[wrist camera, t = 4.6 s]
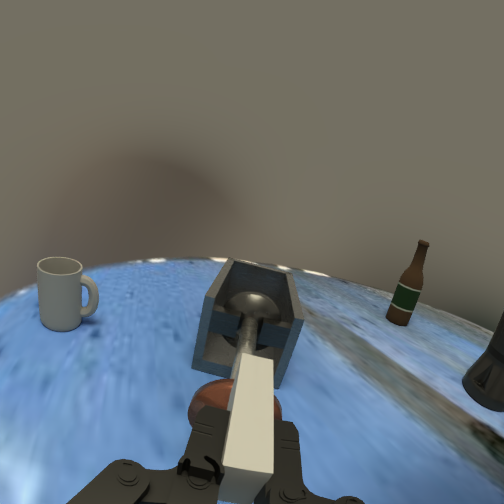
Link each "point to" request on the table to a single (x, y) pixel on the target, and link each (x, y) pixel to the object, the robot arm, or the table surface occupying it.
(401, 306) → the beer bottle
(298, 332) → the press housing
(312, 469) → the table surface
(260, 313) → the plunger
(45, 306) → the cup
